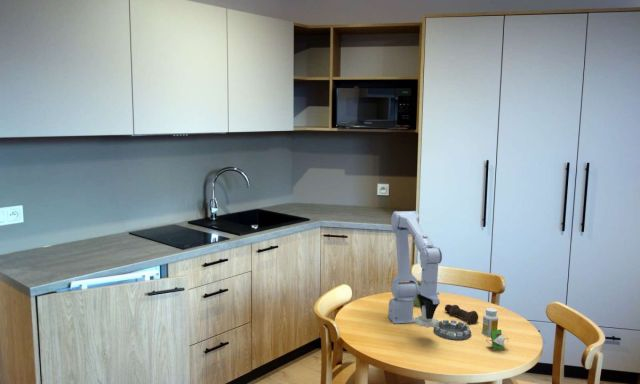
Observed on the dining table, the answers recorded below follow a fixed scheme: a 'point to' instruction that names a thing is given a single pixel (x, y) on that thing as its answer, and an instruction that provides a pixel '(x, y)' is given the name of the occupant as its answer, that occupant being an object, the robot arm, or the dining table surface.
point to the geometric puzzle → (497, 339)
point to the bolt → (462, 313)
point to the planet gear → (425, 319)
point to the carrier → (452, 330)
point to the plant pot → (416, 301)
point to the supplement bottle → (490, 321)
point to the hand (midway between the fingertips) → (426, 316)
